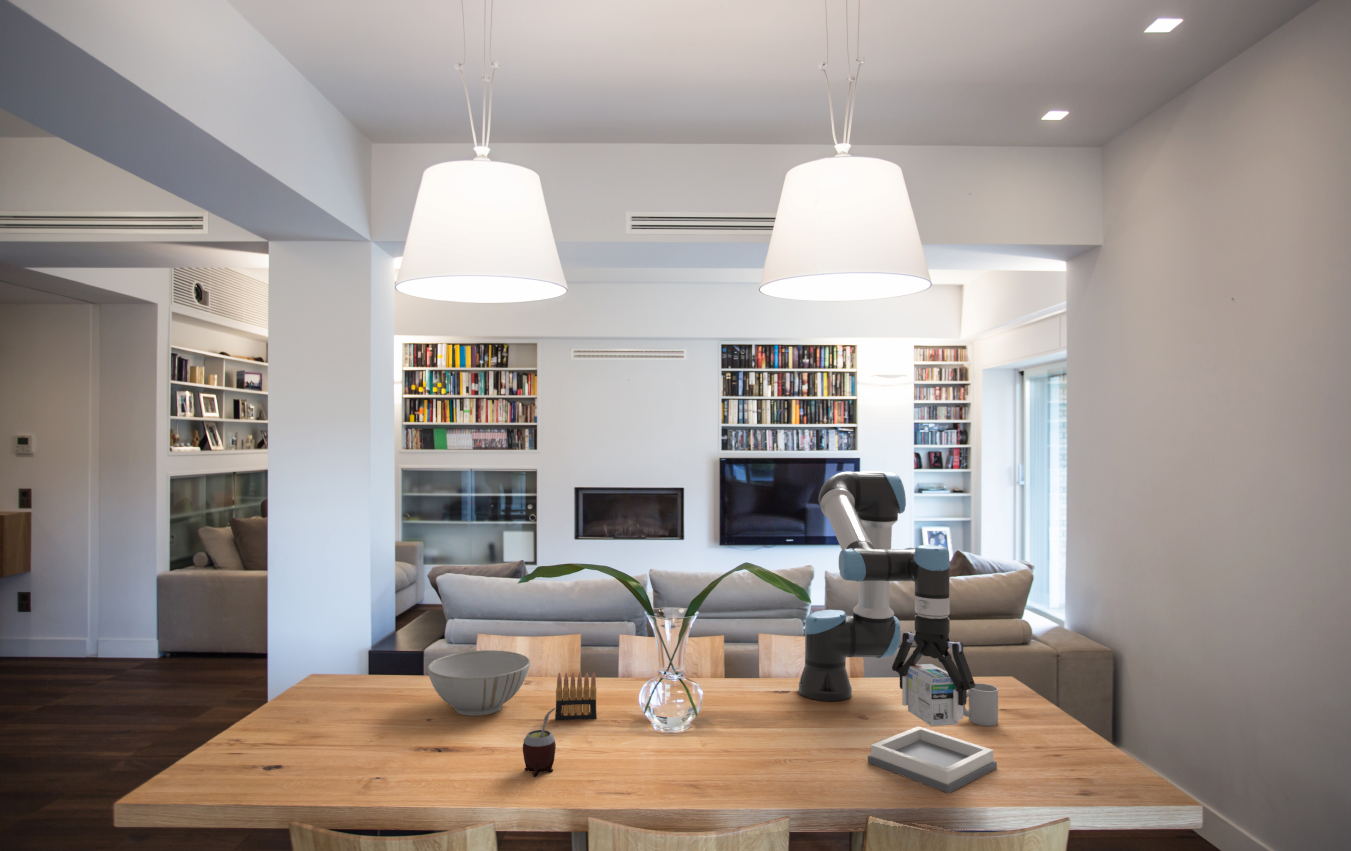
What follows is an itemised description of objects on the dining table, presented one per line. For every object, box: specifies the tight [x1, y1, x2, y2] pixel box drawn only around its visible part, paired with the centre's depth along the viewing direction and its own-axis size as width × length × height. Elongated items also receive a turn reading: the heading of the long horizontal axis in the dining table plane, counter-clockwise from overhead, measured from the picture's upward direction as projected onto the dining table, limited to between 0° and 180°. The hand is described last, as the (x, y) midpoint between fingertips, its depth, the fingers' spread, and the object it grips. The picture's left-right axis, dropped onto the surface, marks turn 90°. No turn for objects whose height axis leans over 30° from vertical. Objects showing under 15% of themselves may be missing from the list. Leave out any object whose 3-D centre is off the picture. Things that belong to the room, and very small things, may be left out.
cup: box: [963, 682, 999, 727], centre depth 203 cm, size 7×10×9 cm
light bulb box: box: [907, 663, 959, 727], centre depth 175 cm, size 11×7×11 cm, turn 13°
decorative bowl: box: [427, 649, 531, 717], centre depth 209 cm, size 27×27×12 cm
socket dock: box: [867, 725, 998, 794], centre depth 174 cm, size 20×20×4 cm
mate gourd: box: [522, 707, 557, 778], centre depth 169 cm, size 8×8×15 cm
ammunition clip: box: [554, 671, 598, 722], centre depth 202 cm, size 11×2×12 cm, turn 98°
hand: (932, 711), depth 175 cm, fingers closed on light bulb box, 12 cm apart
